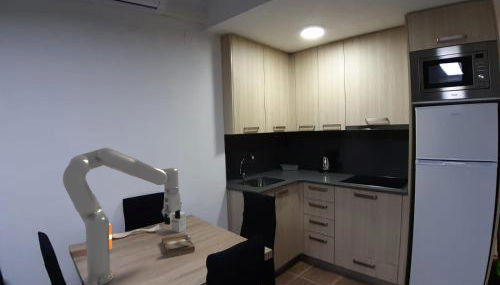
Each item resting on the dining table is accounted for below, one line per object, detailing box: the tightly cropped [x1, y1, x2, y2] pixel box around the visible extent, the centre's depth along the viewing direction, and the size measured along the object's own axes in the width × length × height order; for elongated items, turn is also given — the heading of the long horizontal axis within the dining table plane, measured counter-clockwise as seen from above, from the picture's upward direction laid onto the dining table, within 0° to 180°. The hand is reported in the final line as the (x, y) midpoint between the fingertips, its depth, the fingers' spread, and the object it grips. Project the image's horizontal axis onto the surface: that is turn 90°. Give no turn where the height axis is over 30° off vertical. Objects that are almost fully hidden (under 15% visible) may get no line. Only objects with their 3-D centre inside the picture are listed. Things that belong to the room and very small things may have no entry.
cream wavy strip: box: [111, 224, 162, 239], centre depth 186 cm, size 9×32×4 cm, turn 117°
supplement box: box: [171, 211, 187, 234], centre depth 192 cm, size 7×7×13 cm
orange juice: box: [109, 222, 113, 250], centre depth 163 cm, size 8×9×20 cm
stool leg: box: [167, 238, 192, 249], centre depth 156 cm, size 13×3×4 cm, turn 117°
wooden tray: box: [161, 232, 196, 258], centre depth 164 cm, size 24×15×6 cm, turn 27°
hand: (172, 221), depth 148 cm, fingers open, 9 cm apart
